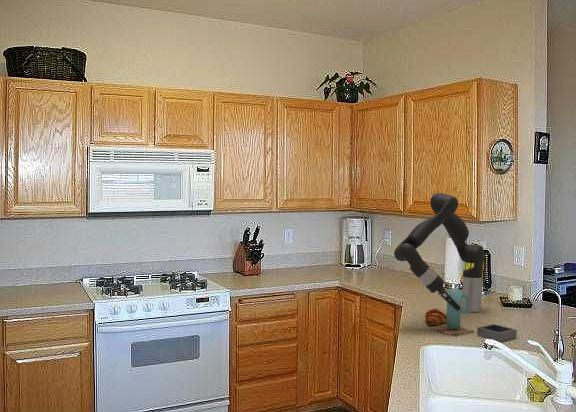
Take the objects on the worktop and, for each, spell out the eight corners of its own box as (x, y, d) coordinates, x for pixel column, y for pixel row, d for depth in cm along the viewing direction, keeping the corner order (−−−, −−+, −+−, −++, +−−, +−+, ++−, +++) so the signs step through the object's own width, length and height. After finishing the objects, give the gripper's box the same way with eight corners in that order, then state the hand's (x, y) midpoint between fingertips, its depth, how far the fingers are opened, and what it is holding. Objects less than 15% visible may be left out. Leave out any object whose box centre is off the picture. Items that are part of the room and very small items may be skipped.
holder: (477, 335, 239) (477, 327, 239) (493, 331, 246) (493, 323, 246) (500, 342, 230) (500, 333, 230) (516, 337, 237) (516, 329, 236)
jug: (447, 327, 244) (448, 291, 243) (445, 324, 250) (446, 288, 249) (468, 328, 242) (469, 292, 242) (466, 325, 248) (467, 289, 247)
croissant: (436, 323, 272) (428, 308, 274) (455, 316, 268) (447, 300, 270) (423, 332, 254) (415, 316, 256) (443, 325, 249) (435, 308, 251)
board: (433, 330, 248) (433, 328, 248) (451, 326, 255) (451, 324, 255) (456, 336, 238) (456, 334, 238) (473, 332, 245) (473, 330, 245)
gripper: (439, 276, 239) (467, 305, 238) (435, 271, 253) (461, 298, 252) (426, 288, 240) (454, 317, 239) (422, 282, 254) (449, 309, 253)
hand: (457, 307), depth 246 cm, fingers closed on jug, 6 cm apart
